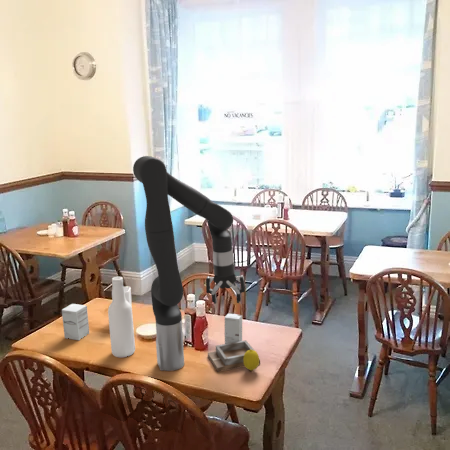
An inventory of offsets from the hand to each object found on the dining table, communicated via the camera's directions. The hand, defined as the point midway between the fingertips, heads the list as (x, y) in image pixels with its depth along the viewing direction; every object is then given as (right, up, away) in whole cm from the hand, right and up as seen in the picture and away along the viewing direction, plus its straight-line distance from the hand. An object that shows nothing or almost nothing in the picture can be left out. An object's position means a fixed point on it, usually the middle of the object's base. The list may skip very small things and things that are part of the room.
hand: (226, 302), depth 193 cm
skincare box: (+3, -18, +7) cm, 20 cm away
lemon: (+9, -22, -12) cm, 26 cm away
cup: (-45, -13, +32) cm, 57 cm away
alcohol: (-39, -20, +4) cm, 44 cm away
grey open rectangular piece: (+2, -20, -4) cm, 21 cm away
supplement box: (-61, -17, +20) cm, 67 cm away
